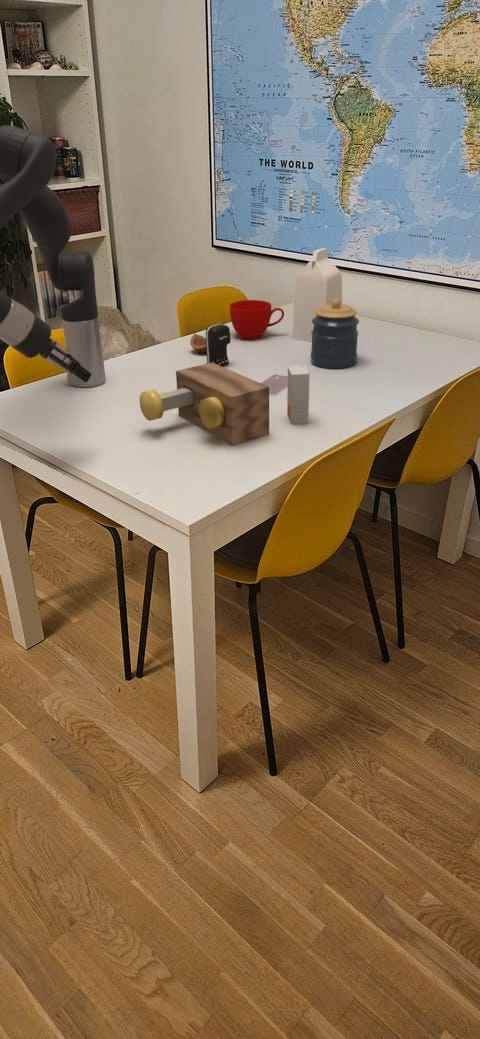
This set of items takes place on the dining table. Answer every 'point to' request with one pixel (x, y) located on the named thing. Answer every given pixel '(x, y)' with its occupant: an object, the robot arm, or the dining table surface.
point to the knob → (164, 401)
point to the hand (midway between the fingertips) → (87, 377)
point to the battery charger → (217, 344)
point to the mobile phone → (276, 384)
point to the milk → (314, 292)
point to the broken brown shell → (198, 343)
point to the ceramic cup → (252, 318)
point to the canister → (334, 336)
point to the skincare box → (298, 394)
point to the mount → (225, 403)
